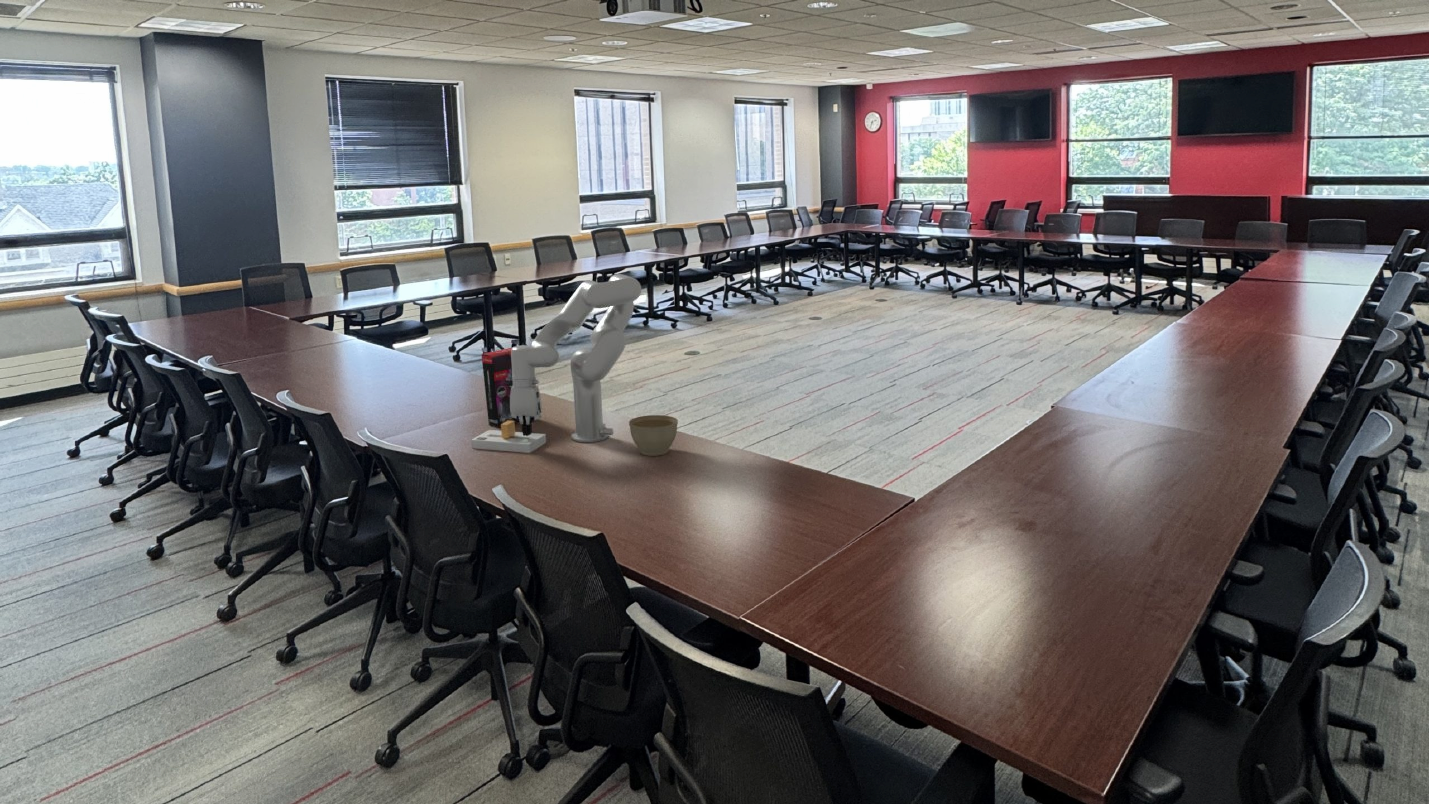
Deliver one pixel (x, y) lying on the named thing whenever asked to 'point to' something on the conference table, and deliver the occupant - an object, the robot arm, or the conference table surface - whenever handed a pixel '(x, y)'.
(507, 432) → the orange slider handle
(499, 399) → the graphics card box
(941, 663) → the conference table surface
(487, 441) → the slider switch
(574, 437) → the robot arm
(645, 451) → the planter bowl
